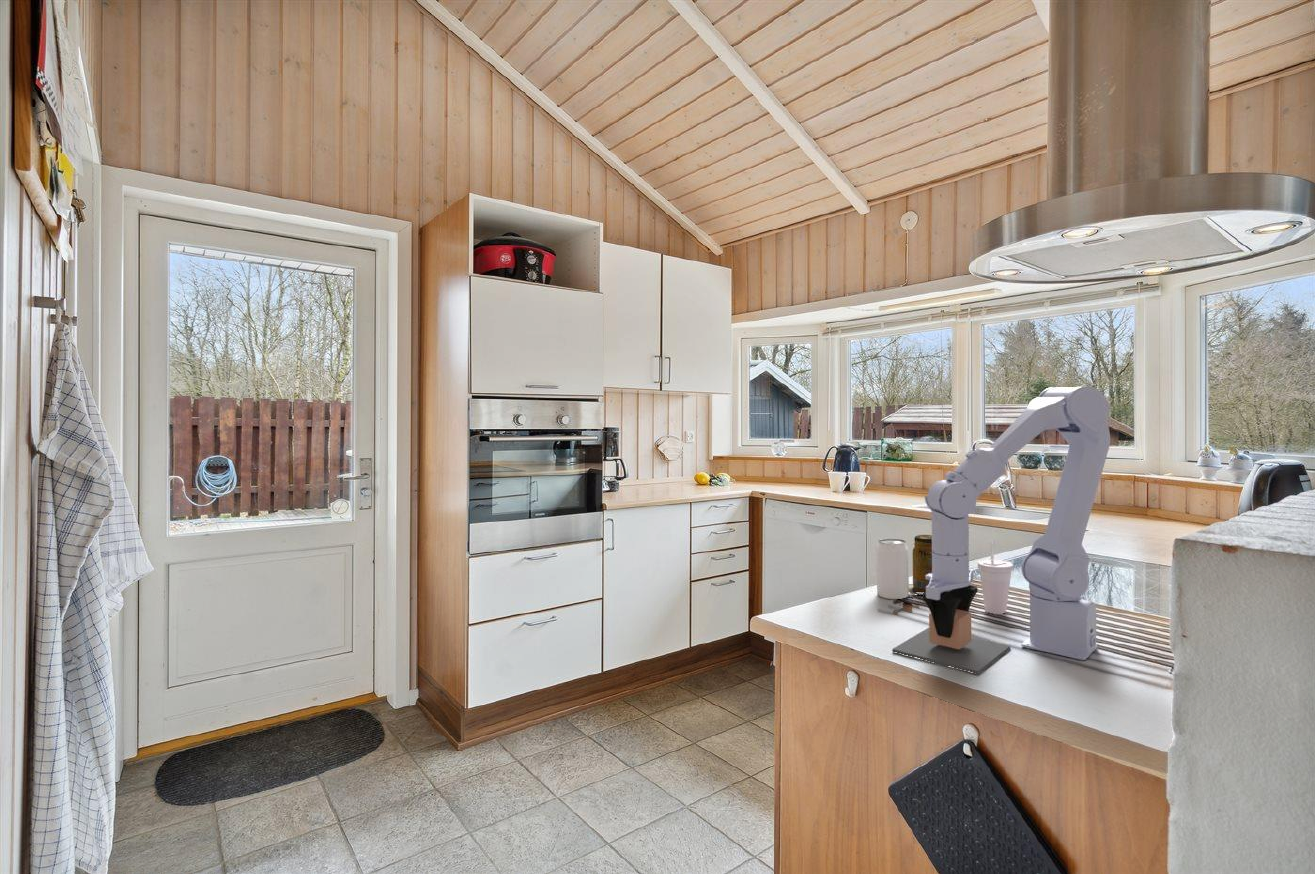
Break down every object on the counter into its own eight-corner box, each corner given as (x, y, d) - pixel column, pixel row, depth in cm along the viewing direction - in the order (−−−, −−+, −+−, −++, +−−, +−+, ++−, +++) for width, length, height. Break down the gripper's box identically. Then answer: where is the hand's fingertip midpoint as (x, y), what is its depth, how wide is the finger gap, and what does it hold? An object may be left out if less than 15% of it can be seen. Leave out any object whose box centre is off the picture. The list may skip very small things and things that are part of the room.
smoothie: (972, 606, 137) (971, 538, 136) (1004, 605, 137) (1003, 537, 136) (986, 616, 130) (985, 545, 130) (1020, 616, 130) (1019, 544, 129)
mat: (1010, 649, 114) (1010, 645, 114) (977, 674, 104) (977, 670, 104) (928, 630, 124) (928, 627, 124) (892, 652, 114) (892, 648, 114)
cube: (971, 641, 114) (971, 612, 114) (959, 649, 110) (959, 619, 110) (941, 634, 118) (941, 606, 117) (929, 642, 114) (929, 613, 114)
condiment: (941, 586, 152) (940, 533, 151) (948, 597, 144) (948, 541, 143) (907, 585, 153) (906, 533, 153) (912, 596, 145) (911, 541, 145)
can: (913, 599, 143) (912, 543, 142) (882, 600, 143) (881, 544, 142) (902, 591, 149) (902, 537, 148) (873, 591, 149) (872, 538, 148)
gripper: (944, 541, 121) (945, 616, 122) (907, 556, 111) (908, 637, 112) (985, 547, 116) (986, 624, 117) (950, 563, 106) (951, 648, 107)
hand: (951, 631), depth 114 cm, fingers closed on cube, 5 cm apart
